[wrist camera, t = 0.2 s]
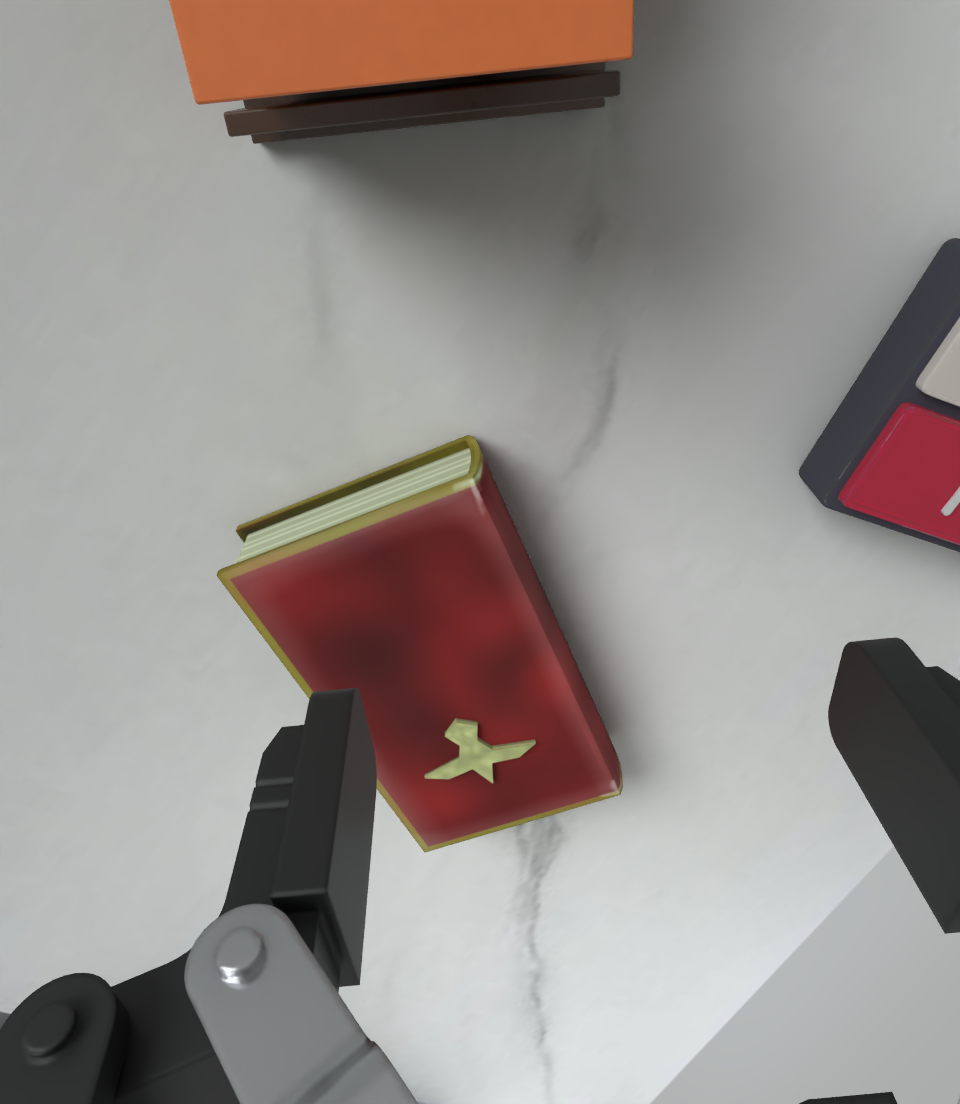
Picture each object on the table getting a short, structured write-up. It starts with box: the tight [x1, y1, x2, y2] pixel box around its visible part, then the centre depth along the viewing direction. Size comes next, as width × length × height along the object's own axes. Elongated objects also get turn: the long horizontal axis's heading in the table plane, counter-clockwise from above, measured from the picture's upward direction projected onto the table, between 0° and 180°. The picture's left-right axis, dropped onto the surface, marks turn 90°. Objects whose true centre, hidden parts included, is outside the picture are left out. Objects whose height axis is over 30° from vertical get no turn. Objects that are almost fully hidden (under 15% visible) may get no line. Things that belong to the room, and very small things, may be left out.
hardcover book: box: [217, 435, 623, 852], centre depth 37 cm, size 12×21×4 cm, turn 22°
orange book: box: [169, 0, 634, 105], centre depth 19 cm, size 3×9×11 cm, turn 95°
